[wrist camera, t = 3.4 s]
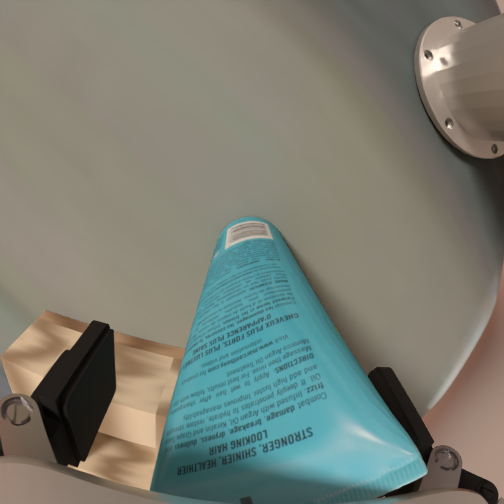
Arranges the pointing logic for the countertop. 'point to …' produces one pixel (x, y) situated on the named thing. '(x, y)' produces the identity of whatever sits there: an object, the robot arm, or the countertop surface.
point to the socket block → (123, 403)
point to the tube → (274, 392)
